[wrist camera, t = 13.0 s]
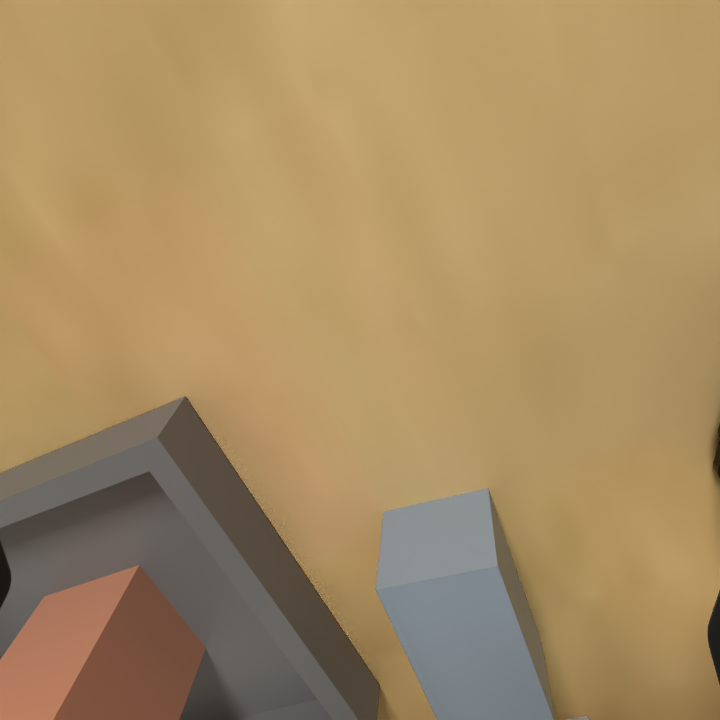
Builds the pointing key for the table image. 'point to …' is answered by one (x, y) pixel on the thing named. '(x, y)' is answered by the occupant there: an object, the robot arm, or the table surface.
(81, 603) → the column
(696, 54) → the table surface
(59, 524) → the tray
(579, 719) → the grey brick
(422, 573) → the slate brick
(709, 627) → the robot arm
